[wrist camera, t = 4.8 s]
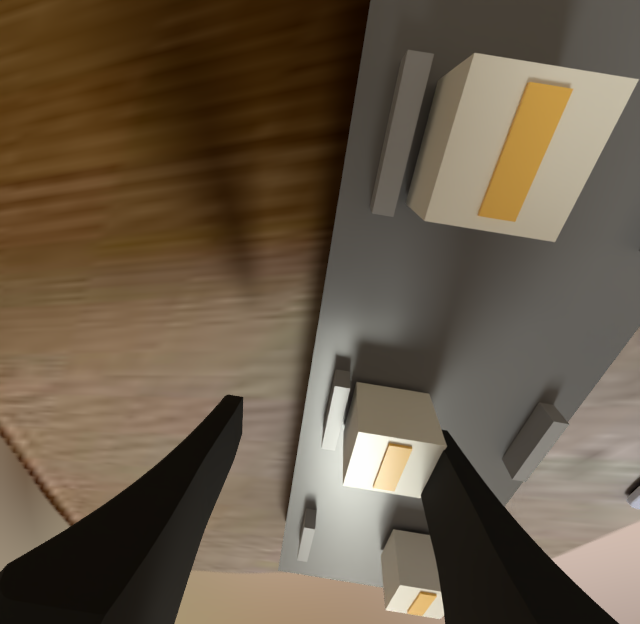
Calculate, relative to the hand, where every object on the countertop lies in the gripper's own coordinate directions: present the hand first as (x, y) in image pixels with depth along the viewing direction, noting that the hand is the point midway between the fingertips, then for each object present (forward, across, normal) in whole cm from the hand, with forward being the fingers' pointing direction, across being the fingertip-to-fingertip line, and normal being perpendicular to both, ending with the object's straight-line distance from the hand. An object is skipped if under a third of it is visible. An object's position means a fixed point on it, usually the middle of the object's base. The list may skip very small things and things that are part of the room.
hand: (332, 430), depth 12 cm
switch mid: (+1, -2, 0) cm, 3 cm away
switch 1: (+1, -6, +10) cm, 12 cm away
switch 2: (+1, -2, -10) cm, 10 cm away
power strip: (+4, -4, 0) cm, 6 cm away
